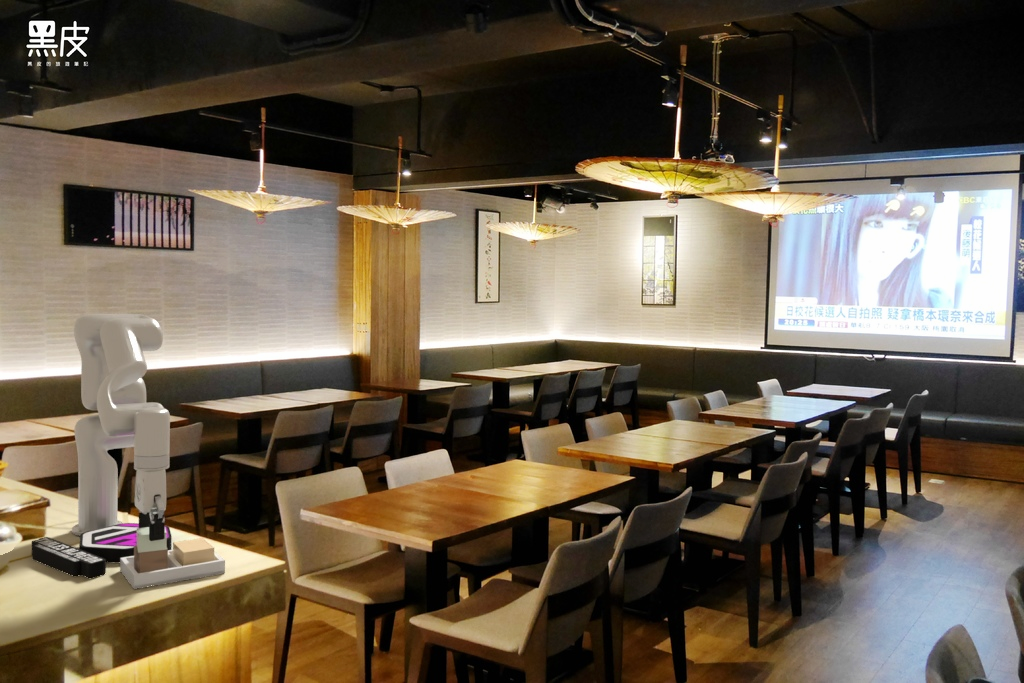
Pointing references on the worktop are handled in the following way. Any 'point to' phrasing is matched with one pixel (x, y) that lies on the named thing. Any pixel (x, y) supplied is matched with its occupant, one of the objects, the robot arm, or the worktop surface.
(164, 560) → the walnut block
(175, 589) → the worktop surface
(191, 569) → the box
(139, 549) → the sage box
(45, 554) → the sign
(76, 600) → the worktop surface
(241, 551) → the worktop surface
